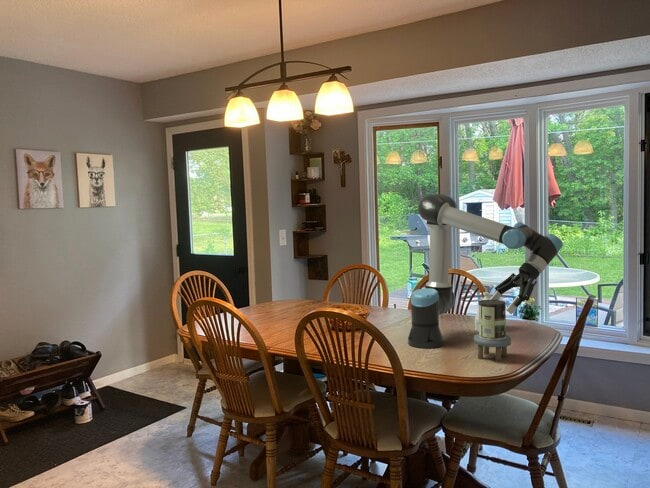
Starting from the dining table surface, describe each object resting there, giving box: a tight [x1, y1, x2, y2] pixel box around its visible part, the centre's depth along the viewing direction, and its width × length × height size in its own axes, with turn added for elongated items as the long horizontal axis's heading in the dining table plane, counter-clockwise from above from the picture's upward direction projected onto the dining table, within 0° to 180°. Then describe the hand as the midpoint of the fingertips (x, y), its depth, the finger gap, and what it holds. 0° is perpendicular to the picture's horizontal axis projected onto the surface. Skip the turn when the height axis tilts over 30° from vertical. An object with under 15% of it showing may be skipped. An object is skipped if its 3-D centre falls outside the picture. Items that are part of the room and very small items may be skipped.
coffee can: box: [477, 299, 507, 340], centre depth 208 cm, size 10×10×14 cm
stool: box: [473, 333, 512, 363], centre depth 209 cm, size 14×14×8 cm
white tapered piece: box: [474, 291, 493, 332], centre depth 252 cm, size 13×13×18 cm
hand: (498, 308), depth 207 cm, fingers open, 13 cm apart
